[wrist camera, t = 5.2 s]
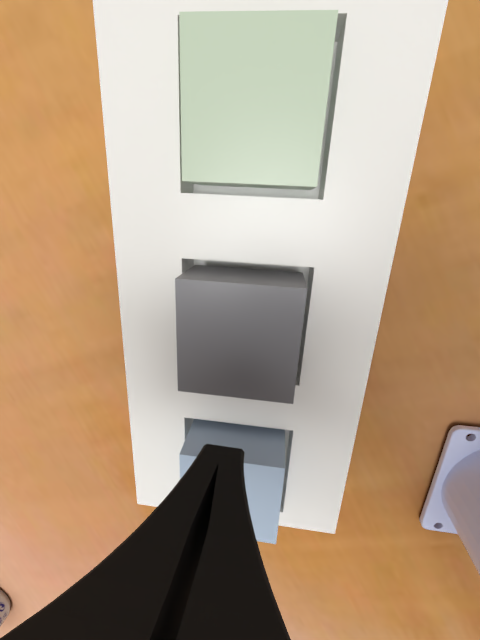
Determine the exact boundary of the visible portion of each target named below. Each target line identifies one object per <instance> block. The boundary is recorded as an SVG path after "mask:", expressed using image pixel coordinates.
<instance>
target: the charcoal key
mask: <svg viewBox="0 0 480 640" xmlns="http://www.w3.org/2000/svg"><path fill="white" fill-rule="evenodd" d="M306 297H307V285H306V282H305V278H304V275H303V272H291V271H277V270H263V269H249V268H235V267H221V266H207V265H194V266H193V267H191V268H190V269H188V270H187V271H185V272H184V273H182V274H181V275H180V276H178V277H177V278H175V298H176V339H177V379H178V391H182V392H191V393H199V394H208V395H217V396H226V397H235V398H244V399H252V400H261V401H270V402H279V403H288V404H293V402H294V394H295V386H296V377H297V369H298V361H299V353H300V345H301V337H302V329H303V321H304V313H305V305H306Z"/></svg>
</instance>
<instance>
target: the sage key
mask: <svg viewBox="0 0 480 640" xmlns="http://www.w3.org/2000/svg"><path fill="white" fill-rule="evenodd" d="M337 17H338V10H278V11H195V12H179V25H180V90H181V155H182V181H184V182H189V183H193V184H198V185H207V186H229V187H252V188H274V189H296V190H312V189H314V188H316V187H317V183H318V174H319V166H320V158H321V150H322V141H323V133H324V125H325V116H326V108H327V100H328V91H329V83H330V75H331V67H332V58H333V50H334V42H335V33H336V25H337Z"/></svg>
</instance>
